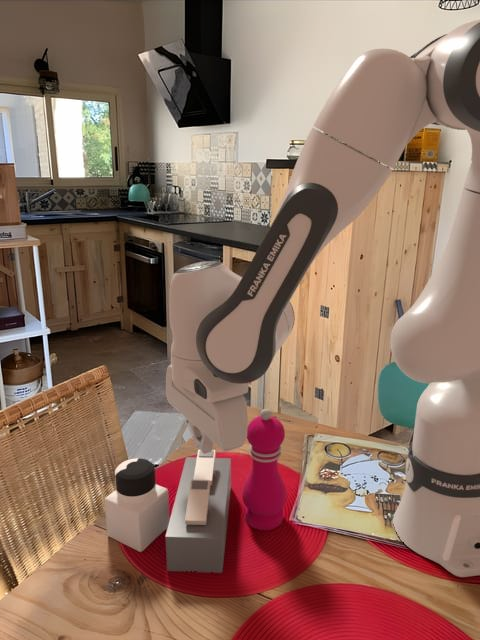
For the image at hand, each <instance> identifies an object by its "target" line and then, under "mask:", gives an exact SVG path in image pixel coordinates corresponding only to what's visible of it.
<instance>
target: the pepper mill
mask: <svg viewBox="0 0 480 640" xmlns="http://www.w3.org/2000/svg"><path fill="white" fill-rule="evenodd" d="M285 435H286V432H285V428H284V425H283V423H282V422H281V421H280V420H279V419H278V418H276V417H275V416H272V411H271V410H270V409H268V408H263V409H261V411H260V415H258V416H256V417H254V418H253V419H251V421H250V422H249V423H248V427H247V443H249V447H248V448H249V452H248V453H249V456H250V457H251V458H252V468H251V471H250V474H249V475H248V477H247V478H246V481H245V483H244V485H243V488H242V502H243V504H244V506H245V508H244V511H245V513H244V514H245V515H244V519H245V521H246V523H247V524H248V525H249V526H250V527H251V528H253V529H255V530H259V531H271V530H274V529H277V528H278V527H279V526H281V524H282V522H283V519H284V506H285V505H286V502H287V490H286V486H285V483H284V481H283V478H282V477H281V474H280V471H279V468H278V460H279V459H280V457H281V456H282V446H281V445H282V444H283V442H284V440H285ZM276 527H277V528H276Z"/></svg>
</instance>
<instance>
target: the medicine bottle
mask: <svg viewBox="0 0 480 640" xmlns="http://www.w3.org/2000/svg"><path fill="white" fill-rule="evenodd" d="M155 470H156V468H155V465H154V464H153V462H151V461H150V460H148V459H145V458H140V457H139V458H136V457H135V458H130V459H127V460H124V461H123V462H121V463H120V464H119V465H118V466H117V467H116V469H115V470H114V481H115V490H114V491H113V492H112V493H110V494H109V495H107V496H106V497H104V511H105V512H104V513H105V521H106V523H105V524H106V530H107V531H106V532H107V536H108V537H109V538H111V539H114V540H115V541H118V542H120V543H121V544H123V545H125V546H127V547H130V548H131V549H132V550H135V551H137V552H140V553H142V552H143V551H145V550H146V549H147V547H149V545H150V544H152V543H153V542H154V541H155V540H156V539H157V538H158V537H159V536H160V535H161V534H163V533H164V531H166V530H167V529H168V525H169V521H170V506H169V505H170V503H169V500H170V499H169V490H168V488H167V487H163V486H161V485H159V484H157V483H156V471H155Z"/></svg>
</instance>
